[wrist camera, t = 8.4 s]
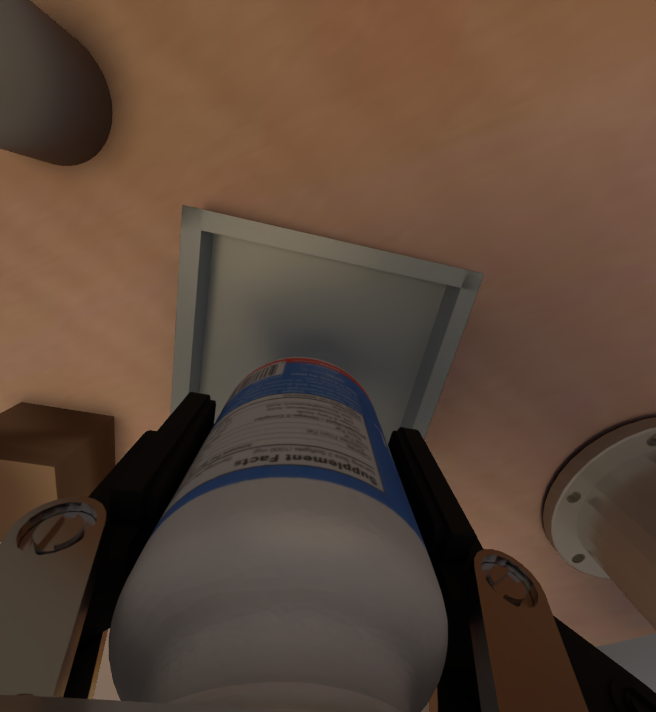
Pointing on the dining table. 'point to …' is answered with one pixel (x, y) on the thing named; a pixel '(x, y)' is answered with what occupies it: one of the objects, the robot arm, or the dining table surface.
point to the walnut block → (50, 457)
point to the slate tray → (314, 313)
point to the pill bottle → (285, 563)
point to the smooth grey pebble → (49, 89)
